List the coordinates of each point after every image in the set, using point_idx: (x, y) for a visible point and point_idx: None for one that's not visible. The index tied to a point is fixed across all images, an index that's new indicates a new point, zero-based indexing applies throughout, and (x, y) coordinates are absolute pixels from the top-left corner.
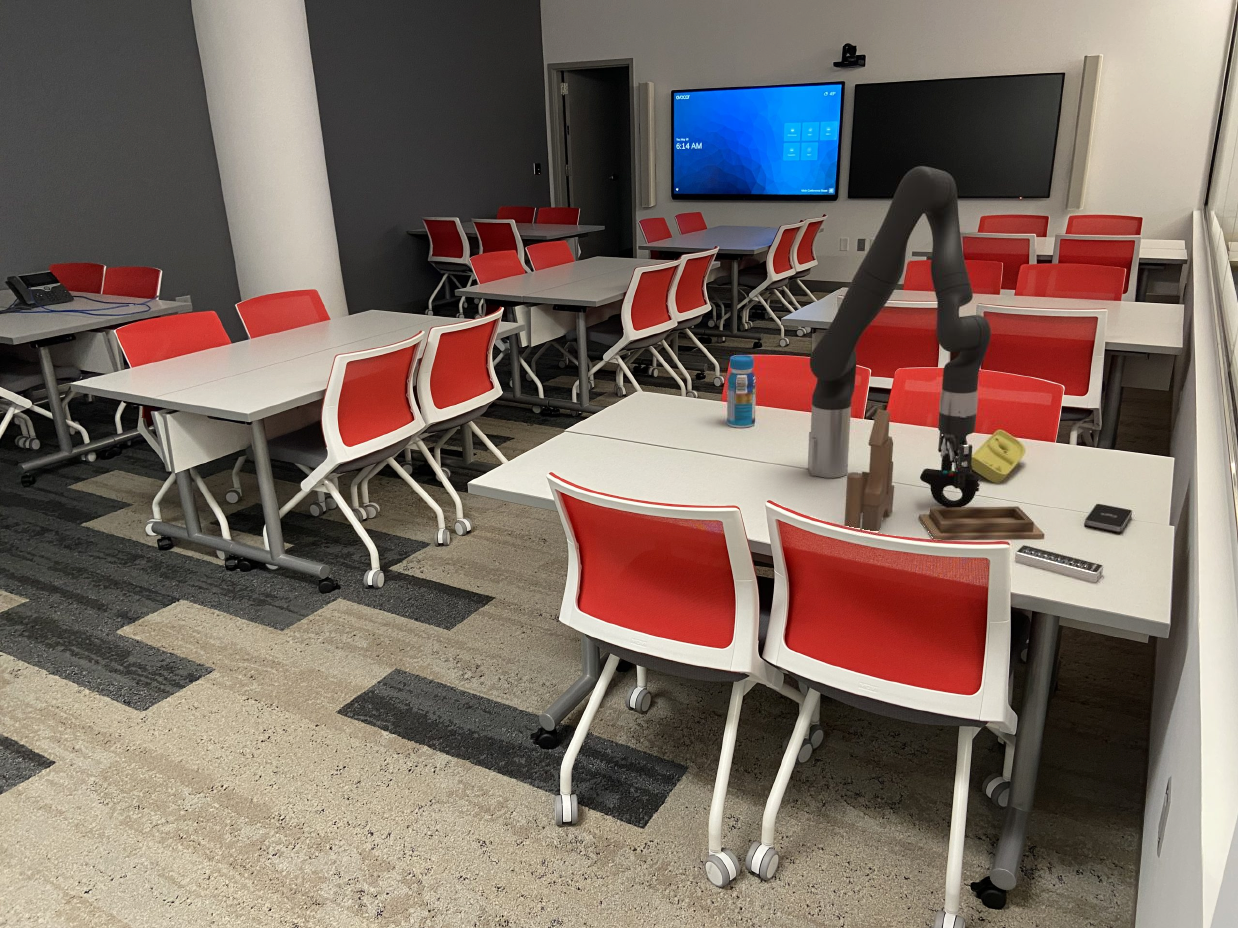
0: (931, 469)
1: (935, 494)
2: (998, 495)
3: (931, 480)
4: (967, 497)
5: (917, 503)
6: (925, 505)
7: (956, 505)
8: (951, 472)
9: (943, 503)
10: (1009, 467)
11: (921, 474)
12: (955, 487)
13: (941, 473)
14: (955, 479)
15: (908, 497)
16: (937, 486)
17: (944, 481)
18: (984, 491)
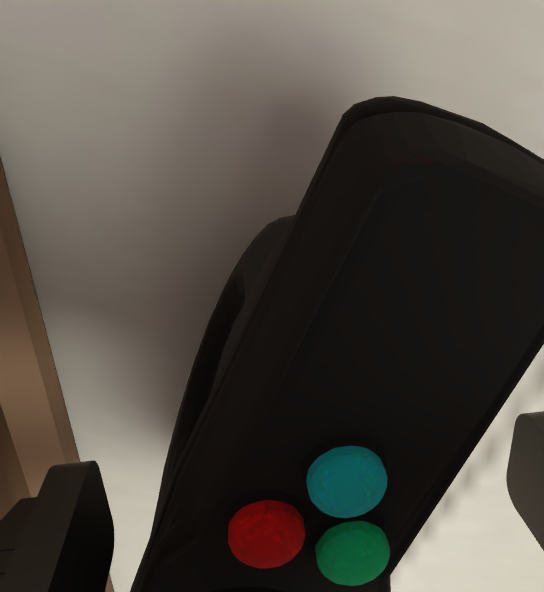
0: (538, 326)
1: (259, 247)
2: (430, 584)
3: (280, 251)
4: (161, 482)
5: (342, 82)
6: (294, 144)
7: (193, 369)
8: (322, 549)
9: (227, 286)
10: None
11: (428, 128)
12: (51, 475)
13: (340, 428)
14: (11, 562)
15: (492, 27)
16: (254, 296)
17: (209, 401)
18: (499, 539)
